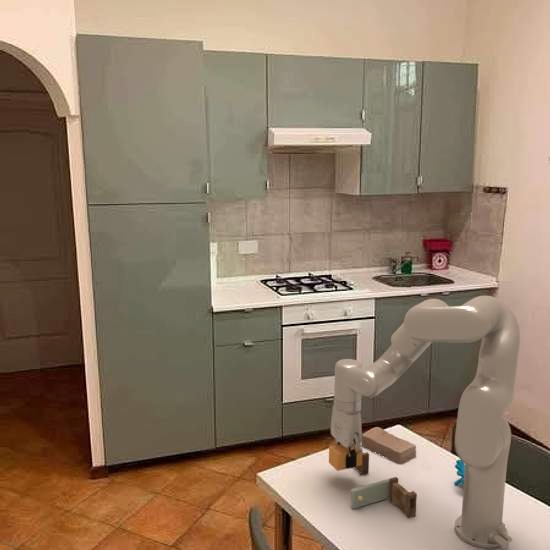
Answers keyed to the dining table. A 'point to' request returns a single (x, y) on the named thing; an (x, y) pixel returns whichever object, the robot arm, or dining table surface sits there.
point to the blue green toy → (460, 471)
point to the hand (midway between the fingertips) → (345, 461)
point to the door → (369, 493)
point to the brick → (388, 445)
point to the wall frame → (394, 491)
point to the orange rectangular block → (341, 456)
